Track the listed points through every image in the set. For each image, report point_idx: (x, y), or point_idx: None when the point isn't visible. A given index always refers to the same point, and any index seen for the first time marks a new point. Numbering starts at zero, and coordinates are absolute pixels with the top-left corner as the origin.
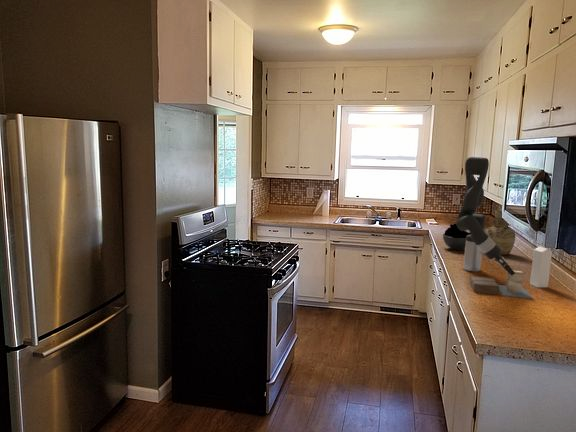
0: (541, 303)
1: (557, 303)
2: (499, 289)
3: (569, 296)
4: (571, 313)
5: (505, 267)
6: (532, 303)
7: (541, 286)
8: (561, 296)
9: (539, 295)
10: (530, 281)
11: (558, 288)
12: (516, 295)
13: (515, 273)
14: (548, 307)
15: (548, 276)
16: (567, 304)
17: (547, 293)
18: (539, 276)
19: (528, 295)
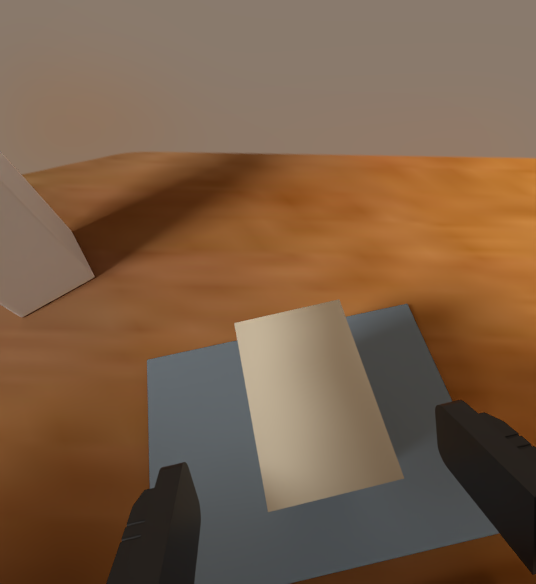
0: (470, 265)
1: (395, 200)
2: (331, 570)
3: (214, 158)
4: (532, 158)
5: (186, 572)
6: (523, 310)
7: (83, 255)
8: (235, 183)
9: (286, 271)
10: (11, 306)
11: (76, 191)
12: (428, 410)
13: (371, 396)
14: (525, 236)
15: (26, 181)
16: (376, 167)
17: (211, 235)
18: (47, 225)
19: (359, 328)
